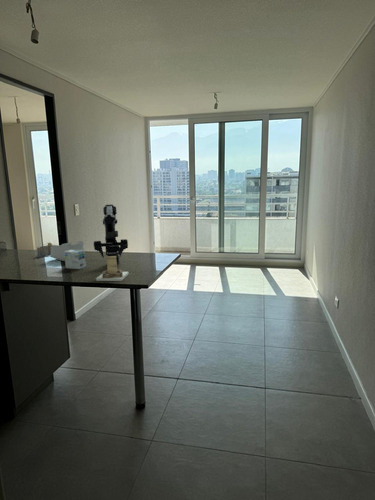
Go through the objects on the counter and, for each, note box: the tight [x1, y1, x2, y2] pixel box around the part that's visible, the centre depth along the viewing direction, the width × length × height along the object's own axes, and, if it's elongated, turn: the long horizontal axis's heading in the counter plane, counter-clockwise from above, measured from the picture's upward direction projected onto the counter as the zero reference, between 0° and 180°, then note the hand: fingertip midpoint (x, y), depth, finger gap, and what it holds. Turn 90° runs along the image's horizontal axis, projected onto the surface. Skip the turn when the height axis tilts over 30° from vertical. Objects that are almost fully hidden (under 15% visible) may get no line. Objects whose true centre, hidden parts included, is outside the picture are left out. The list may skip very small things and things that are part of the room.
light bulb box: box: [64, 249, 87, 270], centre depth 204 cm, size 11×7×11 cm, turn 71°
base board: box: [95, 271, 130, 282], centre depth 181 cm, size 14×14×1 cm
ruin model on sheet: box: [36, 242, 53, 258], centre depth 243 cm, size 11×3×10 cm, turn 149°
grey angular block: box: [49, 240, 85, 262], centre depth 228 cm, size 20×19×12 cm
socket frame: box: [102, 269, 123, 278], centre depth 181 cm, size 10×10×2 cm
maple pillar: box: [106, 255, 118, 275], centre depth 180 cm, size 5×5×10 cm
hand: (111, 257), depth 182 cm, fingers open, 9 cm apart
